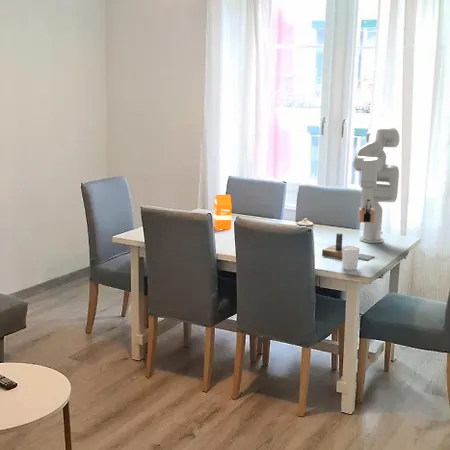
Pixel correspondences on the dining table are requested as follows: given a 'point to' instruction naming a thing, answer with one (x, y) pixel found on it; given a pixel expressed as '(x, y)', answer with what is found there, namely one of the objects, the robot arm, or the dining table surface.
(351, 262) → the white cup
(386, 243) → the dining table surface
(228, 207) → the orange juice
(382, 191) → the robot arm
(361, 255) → the coaster
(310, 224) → the teacup with lid
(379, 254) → the dining table surface
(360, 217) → the peach cube
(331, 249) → the post base
